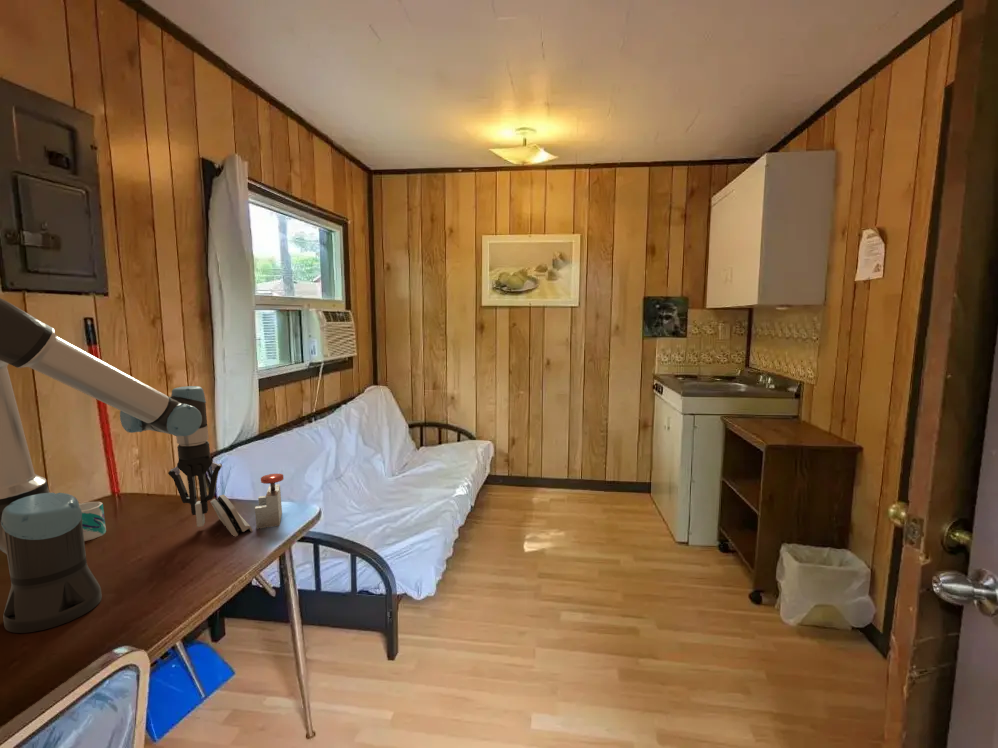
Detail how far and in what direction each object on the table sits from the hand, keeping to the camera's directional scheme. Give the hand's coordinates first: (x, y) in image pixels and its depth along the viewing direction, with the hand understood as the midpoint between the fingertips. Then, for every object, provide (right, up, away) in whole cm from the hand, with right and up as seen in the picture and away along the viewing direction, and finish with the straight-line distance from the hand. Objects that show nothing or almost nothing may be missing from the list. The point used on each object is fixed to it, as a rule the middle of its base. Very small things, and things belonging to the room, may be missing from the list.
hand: (201, 524), depth 143 cm
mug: (-32, -2, 0) cm, 32 cm away
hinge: (+7, -2, +2) cm, 8 cm away
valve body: (+17, -1, +6) cm, 18 cm away
